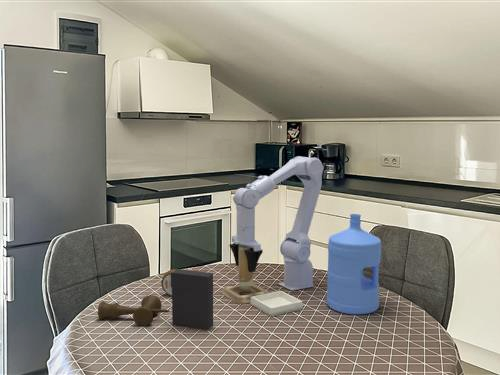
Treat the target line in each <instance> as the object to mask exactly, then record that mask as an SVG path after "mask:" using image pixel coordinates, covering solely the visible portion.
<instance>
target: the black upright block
mask: <svg viewBox="0 0 500 375" xmlns="http://www.w3.org/2000/svg"><path fill="white" fill-rule="evenodd" d="M190 270H191V269H179V268H177V270H175V271H173V272H172V273H171V287H172V296H171V313H172V314H171V319H172V321H171V323H172V325H173V326H176V327H177V326H178V327H183V328H184V327H185V328H189V329H196V330H204V331H209V330H211V328H212V327H214V274H213V273H212V272H207V271H201V272H199V271H200V270H197V271H190Z"/></svg>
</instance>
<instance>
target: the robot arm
mask: <svg viewBox="0 0 500 375" xmlns="http://www.w3.org/2000/svg"><path fill="white" fill-rule="evenodd" d="M324 168H325V167H324V165H323V163H322V161H321V160H320V158H318V157H307V156H300V155H298V156H295V157H293V158H291V159H289V161H288V162H287V163H286V164H285V165H283V166H281V167H280V168H278V170H276V171H275V172H273V173H272V174H270V175H269V176H268V175H259V176H258V177H257V179H256V180H254V181H253V182H252V183H247V184H246V187H240V188H238V189H237V190H235V193H234V196H232V200H233V202H234V205H235V207H236V208H235V209H236V235H232V236H231V244H229V245H228V246H229V248H230V250H231V252H232V255H233V259H234V263H235V266H236V267H239V246H238V245H243V246H246V247H248V248H250V250H244V252H245V254H246V257H247V262H248V271H249V272H253V273H255V272H256V270H257V267H258V263H259V259H260V258H261V255H262V254H263V253H264V252H263V250H264V249H262V248H261V246H262V244H261V243H258V241H257V240H256V237H255V234H256V227H255V226H256V207H257V205H258V204H259V203H260V202H259V201H260V200H261V199H263V198H264V197H266V196H267V195H269V194H271V193H272V192H274V190H275V187H276V186H277V185H278V184H279V183H281V182H284V181H286V180H287V179H288V178H291V177H293V176H296V177H298V179H300V181H301V183H302V185H303V186H304V187H303V190H302V194H301V197H300V201H299V204H298V207H297V211H296V215H295V218H294V222H293V225H292V229H291V230H290V231H289V232H287V233H286V234H285V238H284V240H282V242H281V244H280V246H279V251H280V255H282V256H283V260H284V261H283V282H278V285H279V286H281V287H283V288H285V289H287V290H290V291H291V292H293V291H297V290H298V291H299V290H303V289H308V288H312V287H315V285H314V284H313V280H314V277H313V276H314V266H313V263H312V261H311V260H310V259H309V258H310V256H311V246H312V241H311V239H310V237H309V231H310V229H311V228H310V227H311V224H312V221H313V217H314V214H315V210H316V207H317V204H318V200H319V196H320V193H321V188H322V184H323V182H322V179H323V178H322V176H323V172H324Z"/></svg>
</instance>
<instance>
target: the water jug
mask: <svg viewBox="0 0 500 375" xmlns="http://www.w3.org/2000/svg"><path fill="white" fill-rule="evenodd" d="M349 216H350V218H349V219H350V220H349V227H348V229H347V228H346V229H344V230H341V231H340V232H337V233H334V234H332V235H330V236H329V237H328V243H327V251H328V253H327V255H328V256H327V258H328V259H327V274H326V276H327V285H326V286H327V289H326V290H327V292H326V304H327V306H328V307H329V308H330V309H332V310H334V311H336V312H338V313H341V314H348V315H368V314H372V313H374V312H376V311H377V310H378V309H379V308H380V283H379V272H380V271H379V270H380V267H379V266H380V264H381V255H382V240H381V239H380V238H379V237H378V236H376V235H373V234H372V233H370V232H368V231H366V230H364V229H362V227H361V222H362V221H361V216H362V215H361V214H359V213H350V214H349ZM365 268H372V274H371V276H372V277H371V278H370V277H369V278H368V277H366V276H365V275H364V269H365Z"/></svg>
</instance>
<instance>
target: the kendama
mask: <svg viewBox="0 0 500 375" xmlns="http://www.w3.org/2000/svg"><path fill="white" fill-rule="evenodd" d="M140 304H141V305H140V307H131V306H125V305H121V304H119V303H118V302H115V303H107V302H106V301H104V300H101V302H99V304H98V308H97V317H98V319H99V321H100V320H101V321H102V319H103V320H104V319H106V318H113V319H115V320H116V319H117V318H118V317H121V316H127V315H132V318H133V322H134V323H135V324H136V325H137V326H139V327H148V326H150V325H152V322H154V315H155V316H156V315H157V314H160V313H169V312H170V309H165V308H163V309H162V307H163V306H162V305H163V304H162V301H161V299H160V298H159V297H158V296H157V295H154V294H149V295H148V294H147V295H145V296H144V297H142V299H141V302H140Z"/></svg>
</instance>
